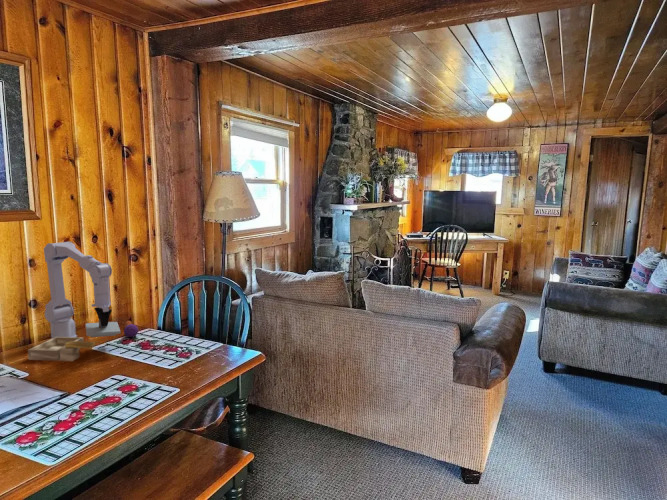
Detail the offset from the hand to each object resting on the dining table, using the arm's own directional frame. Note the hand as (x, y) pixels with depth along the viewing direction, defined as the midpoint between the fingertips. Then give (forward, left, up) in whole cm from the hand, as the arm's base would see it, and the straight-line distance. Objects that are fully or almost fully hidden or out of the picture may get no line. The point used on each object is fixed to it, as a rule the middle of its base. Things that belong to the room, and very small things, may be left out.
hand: (103, 324), depth 180 cm
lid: (0, -1, -3) cm, 3 cm away
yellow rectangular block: (+12, -3, -5) cm, 13 cm away
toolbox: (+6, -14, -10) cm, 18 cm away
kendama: (-23, -1, -11) cm, 25 cm away
